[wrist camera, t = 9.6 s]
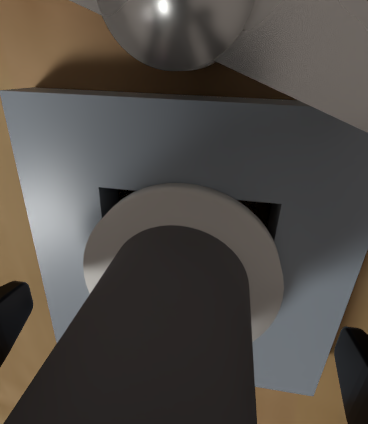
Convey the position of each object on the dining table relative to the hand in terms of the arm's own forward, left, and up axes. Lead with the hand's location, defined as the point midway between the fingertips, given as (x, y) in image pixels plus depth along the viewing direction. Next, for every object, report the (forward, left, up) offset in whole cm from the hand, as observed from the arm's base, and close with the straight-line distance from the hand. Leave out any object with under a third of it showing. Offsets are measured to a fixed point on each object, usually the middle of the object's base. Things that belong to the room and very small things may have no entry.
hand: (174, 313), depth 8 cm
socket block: (0, 0, -4) cm, 4 cm away
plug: (0, 0, -4) cm, 4 cm away
